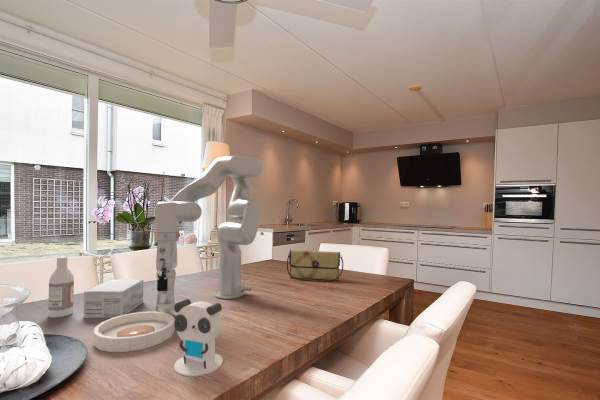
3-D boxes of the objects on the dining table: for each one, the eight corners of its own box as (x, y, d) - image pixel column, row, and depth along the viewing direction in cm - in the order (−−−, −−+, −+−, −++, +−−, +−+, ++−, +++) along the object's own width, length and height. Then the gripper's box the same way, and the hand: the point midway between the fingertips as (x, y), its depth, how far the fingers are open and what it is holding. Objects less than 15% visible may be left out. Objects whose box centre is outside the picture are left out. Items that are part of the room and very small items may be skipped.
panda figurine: (161, 369, 75) (162, 306, 75) (193, 349, 86) (194, 293, 86) (203, 380, 71) (204, 313, 71) (231, 357, 82) (232, 299, 82)
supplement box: (109, 302, 125) (109, 279, 125) (143, 302, 126) (144, 279, 126) (82, 318, 108) (82, 290, 108) (121, 318, 109) (122, 290, 109)
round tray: (181, 321, 106) (181, 310, 106) (163, 349, 85) (163, 336, 85) (113, 323, 103) (114, 312, 103) (78, 353, 82) (78, 340, 82)
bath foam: (70, 316, 109) (72, 258, 109) (45, 319, 106) (47, 259, 106) (74, 310, 115) (76, 255, 116) (51, 312, 112) (52, 256, 112)
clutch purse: (285, 280, 165) (285, 251, 165) (287, 277, 172) (288, 249, 172) (343, 283, 161) (343, 253, 161) (343, 280, 168) (343, 251, 168)
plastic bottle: (155, 320, 106) (156, 260, 106) (154, 314, 112) (155, 257, 112) (176, 317, 109) (177, 259, 109) (174, 311, 115) (175, 256, 115)
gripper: (171, 240, 103) (170, 294, 103) (183, 234, 120) (182, 281, 120) (147, 240, 102) (145, 295, 102) (162, 234, 119) (161, 281, 119)
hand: (165, 287), depth 111 cm, fingers open, 7 cm apart
